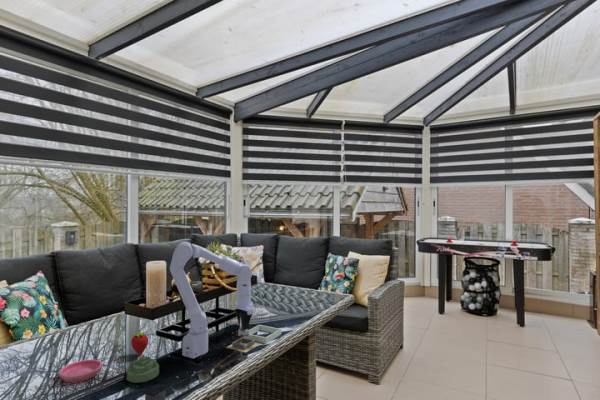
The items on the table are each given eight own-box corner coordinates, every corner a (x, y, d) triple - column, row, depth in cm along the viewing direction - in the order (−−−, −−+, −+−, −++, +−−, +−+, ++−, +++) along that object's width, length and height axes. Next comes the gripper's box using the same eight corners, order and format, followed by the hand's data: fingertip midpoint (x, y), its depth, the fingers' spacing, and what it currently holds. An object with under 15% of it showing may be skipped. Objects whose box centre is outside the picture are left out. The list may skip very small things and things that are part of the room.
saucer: (109, 368, 120) (110, 359, 120) (86, 386, 108) (86, 376, 108) (76, 367, 121) (76, 358, 121) (49, 385, 108) (49, 375, 108)
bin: (266, 345, 139) (266, 338, 139) (243, 340, 145) (243, 333, 145) (281, 335, 150) (281, 329, 150) (259, 331, 156) (259, 324, 156)
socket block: (245, 354, 131) (245, 348, 131) (225, 349, 135) (226, 343, 135) (260, 345, 139) (260, 339, 139) (241, 340, 144) (241, 335, 144)
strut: (250, 335, 137) (250, 315, 137) (240, 337, 135) (240, 317, 135) (246, 332, 140) (246, 312, 141) (236, 334, 138) (237, 314, 139)
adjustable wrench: (229, 326, 164) (229, 322, 164) (222, 323, 169) (222, 319, 169) (270, 314, 181) (270, 311, 181) (263, 312, 186) (263, 309, 186)
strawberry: (135, 360, 126) (135, 333, 126) (128, 354, 131) (128, 328, 131) (151, 355, 130) (151, 329, 130) (143, 350, 135) (144, 325, 135)
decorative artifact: (160, 378, 113) (157, 366, 121) (160, 357, 113) (157, 346, 122) (126, 386, 108) (126, 372, 117) (127, 363, 108) (126, 352, 117)
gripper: (260, 296, 134) (259, 331, 133) (246, 289, 146) (245, 321, 146) (243, 299, 130) (243, 334, 130) (230, 291, 143) (230, 323, 142)
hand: (243, 327), depth 138 cm, fingers closed on strut, 3 cm apart
